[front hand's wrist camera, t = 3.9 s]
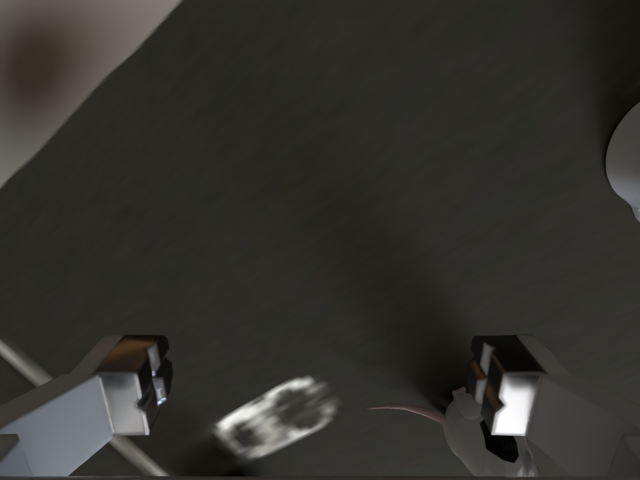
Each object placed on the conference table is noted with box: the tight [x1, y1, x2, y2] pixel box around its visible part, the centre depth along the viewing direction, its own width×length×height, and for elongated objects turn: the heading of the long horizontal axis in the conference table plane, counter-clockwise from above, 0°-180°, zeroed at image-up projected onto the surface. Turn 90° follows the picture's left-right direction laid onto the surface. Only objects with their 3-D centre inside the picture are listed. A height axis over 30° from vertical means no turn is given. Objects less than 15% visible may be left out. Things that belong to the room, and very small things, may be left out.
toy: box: [368, 387, 541, 476], centre depth 54 cm, size 9×24×15 cm, turn 79°
